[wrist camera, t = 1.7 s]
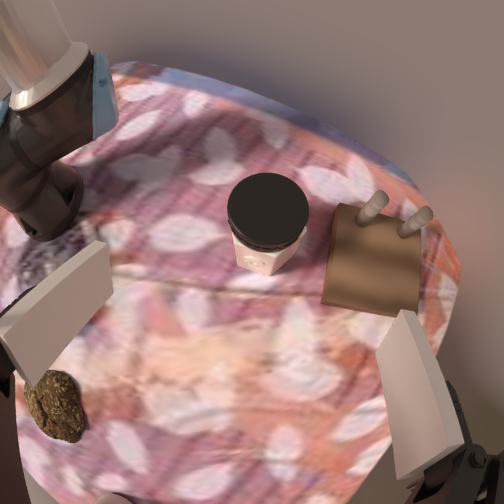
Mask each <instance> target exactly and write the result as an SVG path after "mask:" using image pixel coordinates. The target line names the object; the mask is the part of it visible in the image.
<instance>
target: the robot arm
mask: <svg viewBox="0 0 504 504" xmlns="http://www.w3.org/2000/svg"><path fill="white" fill-rule="evenodd" d="M0 72H1V74H2V75H3V76H4V78H5V79H6V81H7V82H8V83H9V85H10V86H11V87H12V94H11V99H10V107H9V104H8V103H6V102H5V101H0V205H1V206H2V207H4V208H5V209H7V210H8V211H9V212H11V213H12V214H13V215H14V217H15V219H16V220H17V222H18V223H19V225H20V226H21V228H22V229H23V230H24V232H25V233H26V234H27V235H28V236H30V237H31V238H33V239H35V240H37V241H40V242H45V241H49V240H52V239H54V238H55V237H57V236H58V235H60V234H61V233H62V232H63V231H64V230H65V229H66V228H67V227H68V225H69V224H70V223H71V221H72V220H73V218H74V217H75V215H76V213H77V211H78V209H79V206H80V204H81V200H82V196H83V182H82V178H81V176H80V175H79V174H78V172H77V171H76V170H75V169H74V168H73V167H72V166H70V165H68V164H66V163H64V162H61V161H59V159H60V158H62V157H64V156H66V155H67V154H69V153H71V152H73V151H74V150H76V149H78V148H80V147H82V146H84V145H86V144H88V143H90V142H91V141H95V140H96V139H97V138H98V137H99V136H101V135H103V134H105V133H107V132H109V131H110V130H112V129H113V128H114V127H115V126H116V124H117V123H118V119H119V114H118V106H117V100H116V95H115V90H114V85H113V80H112V75H111V71H110V66H109V63H108V59H107V56H106V54H105V52H103V51H101V52H95V53H94V54H93V55H92V54H91V52H90V50H89V48H88V46H87V45H86V44H85V43H81V42H72V41H71V40H70V38H69V36H68V34H67V32H66V30H65V27H64V25H63V23H62V21H61V18H60V16H59V14H58V12H57V9H56V7H55V5H54V2H53V0H0ZM113 293H114V292H113V285H112V278H111V269H110V260H109V250H108V244H107V243H104V242H100V241H96V240H95V241H94V242H92V243H91V244H90V245H88V246H87V247H85V248H84V249H83V250H81V251H80V252H79V253H77V254H76V255H75V256H73V257H72V258H71V259H69V260H68V261H67V262H65V263H64V264H63V265H62V266H60V267H59V268H58V269H56V270H55V271H54V272H53V273H51V274H50V275H49V276H48V277H47V278H45V279H44V280H43V281H42V282H40V283H39V284H38V285H36V286H33V287H31V288H29V289H27V290H26V291H24V292H23V293H22V294H21V295H20V296H19V297H18V299H15V300H14V301H13V302H12V304H11V305H9V306H7V307H6V308H5V309H4V310H3V311H2V312H1V313H0V504H31V501H30V498H29V494H28V490H27V486H26V482H25V478H24V473H23V468H22V463H21V457H20V450H19V443H18V435H17V424H16V407H15V375H14V374H13V372H14V371H15V369H16V370H17V372H18V373H19V375H20V376H21V378H22V379H23V380H24V381H26V382H27V383H28V384H30V385H31V386H32V387H35V386H36V385H37V383H38V382H39V381H40V379H41V378H42V377H43V375H44V374H45V373H46V371H47V370H48V369H49V368H50V366H51V365H52V364H53V363H54V361H55V360H56V359H57V358H58V356H59V355H60V354H61V353H62V351H63V350H64V349H65V348H66V347H67V345H68V344H69V343H70V342H71V340H72V339H73V338H74V337H75V336H76V335H77V333H78V332H79V331H80V330H81V329H82V328H83V326H84V325H85V324H86V323H87V322H88V321H89V320H90V318H91V317H92V316H93V315H94V314H95V313H96V312H97V311H98V309H99V308H100V307H101V306H102V305H103V304H104V303H105V302H106V301H107V300H108V298H109V297H110V296H111V295H112V294H113ZM375 355H376V359H377V363H378V367H379V372H380V376H381V381H382V386H383V391H384V396H385V401H386V406H387V412H388V418H389V424H390V430H391V437H392V444H393V451H394V460H395V469H396V479H397V480H398V479H404V478H410V477H414V476H416V475H417V474H419V473H421V472H422V471H424V477H422V478H420V479H418V480H417V481H415V482H413V483H411V484H409V485H408V486H407V489H409V488H411V487H413V486H415V485H416V487H415V488H414V489H412V490H411V491H412V493H411V495H410V496H409V498H408V499H407V501H406V502H405V504H504V451H502V452H501V453H500V454H498V455H488V454H486V452H485V450H484V449H483V447H482V446H480V445H477V444H473V443H472V440H471V437H470V433H469V430H468V427H467V423H466V420H465V417H464V414H463V412H462V408H461V405H460V403H459V399H458V396H457V394H456V391H455V389H454V388H453V386H452V385H451V384H450V382H449V381H445V380H444V377H443V375H442V372H441V370H440V367H439V365H438V362H437V360H436V357H435V355H434V353H433V350H432V348H431V346H430V343H429V341H428V339H427V337H426V335H425V332H424V330H423V328H422V326H421V324H420V322H419V320H418V318H417V316H416V314H415V311H409V310H403V309H401V310H400V312H399V314H398V315H397V317H396V319H395V321H394V323H393V324H392V326H391V328H390V330H389V331H388V333H387V335H386V336H385V338H384V340H383V341H382V343H381V345H380V346H379V348H378V349H377V351H376V353H375ZM486 491H487V495H486V498H484V499H482V500H480V501H479V500H478V496H479V495H481V494H482V493H484V492H486Z"/></svg>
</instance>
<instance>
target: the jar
mask: <svg viewBox="0 0 504 504" xmlns="http://www.w3.org/2000/svg"><path fill="white" fill-rule="evenodd" d="M227 212H228V218H229V220H228V222H229V226H230V228H231V234H232V239H233V245H234V251H235V256H236V262H237V265H238V266H239V267H242V268H245V269H248V270H251V271H254V272H257V273H260V274H263V275H266V276H271V275H272V274H273V273H274V272H275V271H276V270H278V269H279V268H280V267H281V266H282V265H283V264H285V263H286V262H287V261H288V260H289V259H290V258H291V257H293V255H294V254H295V252H296V250H297V248H298V246H299V244H300V243H301V241H302V239H303V237H304V235H305V233H306V231H307V229H306V223H307V220H308V216H309V205H308V201H307V198H306V196H305V194H304V192H303V191H302V189H301V188H300V187H299V186H298V185H297V184H296V183H295V182H294V181H292V180H291V179H289V178H287V177H285V176H282V175H279V174H275V173H258V174H254V175H251V176H249V177H247V178H245V179H243V180H242V181H240V182H239V183H238V184H237V185H236V186H235V187H234V189H233V190H232V192H231V194H230V196H229V199H228V205H227Z"/></svg>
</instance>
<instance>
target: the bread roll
mask: <svg viewBox="0 0 504 504" xmlns="http://www.w3.org/2000/svg"><path fill="white" fill-rule="evenodd" d="M24 390H25V392H24V395H25V399H26V402H27V404H28V406H29V410H30V412H31V414H32V416H33V417H34V419H35V422H36V424H37V425H38V426H39V428H40V429H41V430H42V431H43V432H44V433H45V434H46V435H48V436H50V437H51V438H53V439H60V440H65V441H67V442H69V443H75V442H76V441H78V440H79V437H80V431H81V430H82V429H83V428H84V419H83V412H82V408H81V406H80V404H79V400H78V389H77V388H76V387H75V386H74V382H73V381H72V380H71V379H70V378H69V377H68V376H66V375H65V374H62V373H59V372H56V371H53V370H47V371H46V373H45V374H44V375H43V377H42V378H41V379H40V381H39V382H38V383H37V385H36V386H35V387H32V386H31V385H30V384H28V383H27V382H26V381H25V387H24Z"/></svg>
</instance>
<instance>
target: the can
mask: <svg viewBox="0 0 504 504" xmlns="http://www.w3.org/2000/svg"><path fill="white" fill-rule="evenodd" d="M93 504H132V503H131V502H130V501H129V500H127V499H126V498H124V497H122V496H119V495H116V494H112V493H106V494H103V495H102V496H101V497H100V498H99V499H98V500H97V501H96V502H94V503H93Z"/></svg>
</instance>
